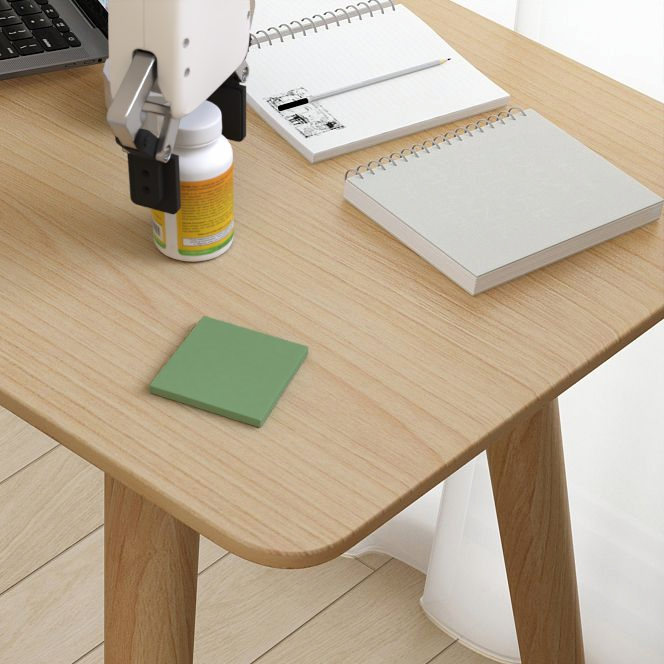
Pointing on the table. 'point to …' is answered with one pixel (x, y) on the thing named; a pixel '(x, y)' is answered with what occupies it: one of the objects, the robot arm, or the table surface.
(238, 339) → the green flat square slab
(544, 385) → the table surface
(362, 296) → the table surface
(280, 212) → the table surface
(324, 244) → the table surface
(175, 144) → the supplement bottle
